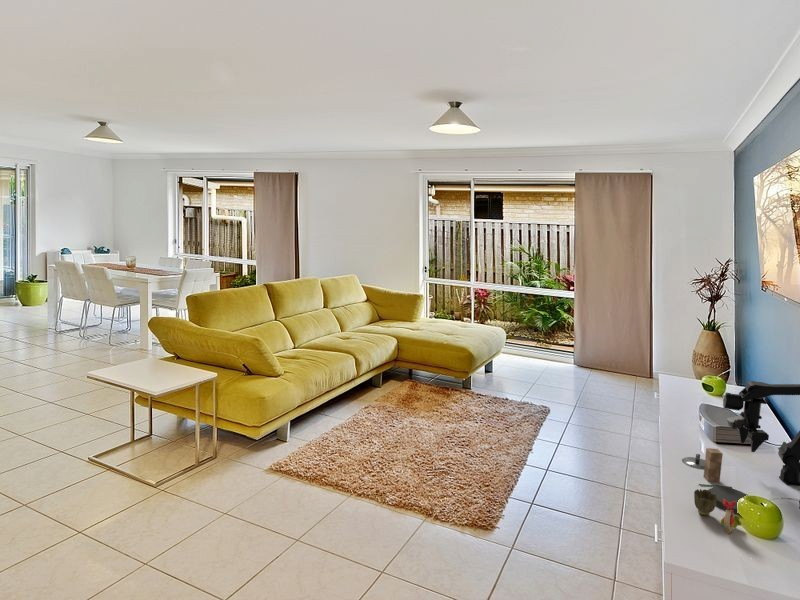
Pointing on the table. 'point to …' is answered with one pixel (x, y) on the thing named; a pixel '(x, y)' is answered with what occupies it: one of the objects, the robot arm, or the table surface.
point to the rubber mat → (712, 486)
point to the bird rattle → (730, 517)
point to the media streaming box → (726, 496)
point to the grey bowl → (694, 462)
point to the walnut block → (713, 465)
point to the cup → (704, 501)
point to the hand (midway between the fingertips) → (747, 447)
